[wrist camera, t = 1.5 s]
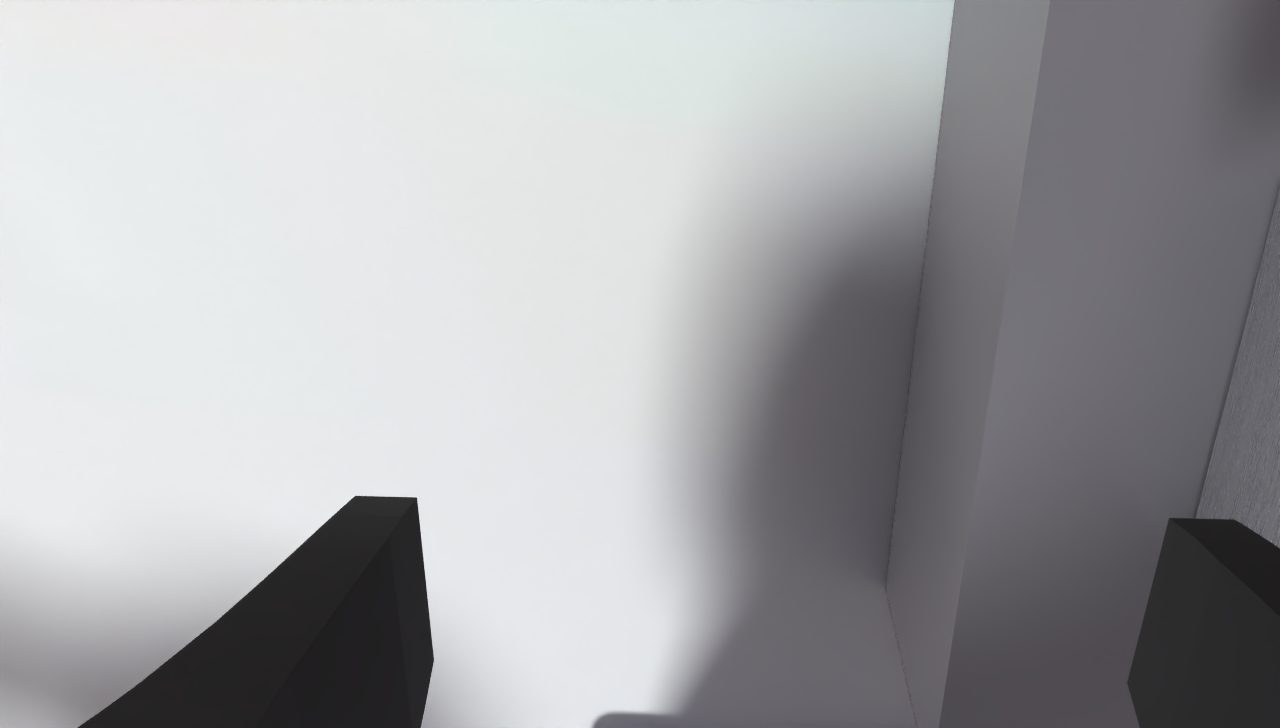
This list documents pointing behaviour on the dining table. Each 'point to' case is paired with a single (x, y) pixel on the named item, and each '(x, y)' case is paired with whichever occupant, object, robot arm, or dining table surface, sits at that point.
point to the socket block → (1073, 339)
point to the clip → (1252, 413)
